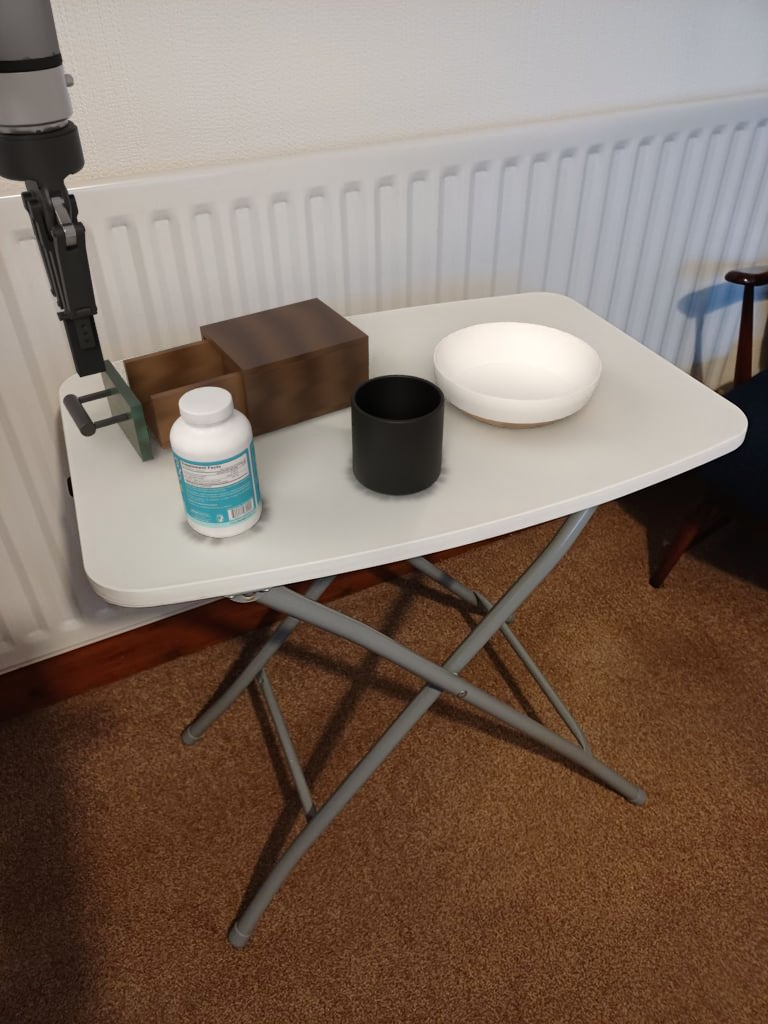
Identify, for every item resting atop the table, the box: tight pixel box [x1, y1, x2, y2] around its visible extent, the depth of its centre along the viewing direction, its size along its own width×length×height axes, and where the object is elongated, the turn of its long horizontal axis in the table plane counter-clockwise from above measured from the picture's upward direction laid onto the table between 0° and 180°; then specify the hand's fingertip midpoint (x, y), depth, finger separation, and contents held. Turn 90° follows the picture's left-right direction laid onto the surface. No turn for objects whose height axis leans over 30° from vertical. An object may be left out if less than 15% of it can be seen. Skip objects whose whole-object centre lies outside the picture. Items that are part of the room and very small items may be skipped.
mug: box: [350, 374, 446, 496], centre depth 82 cm, size 9×12×9 cm
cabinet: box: [199, 297, 370, 438], centre depth 94 cm, size 16×13×9 cm
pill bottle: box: [170, 387, 263, 539], centre depth 74 cm, size 8×7×14 cm
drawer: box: [62, 339, 247, 462], centre depth 87 cm, size 20×11×7 cm, turn 122°
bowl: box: [432, 321, 603, 429], centre depth 93 cm, size 20×20×6 cm
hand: (91, 371), depth 81 cm, fingers closed
